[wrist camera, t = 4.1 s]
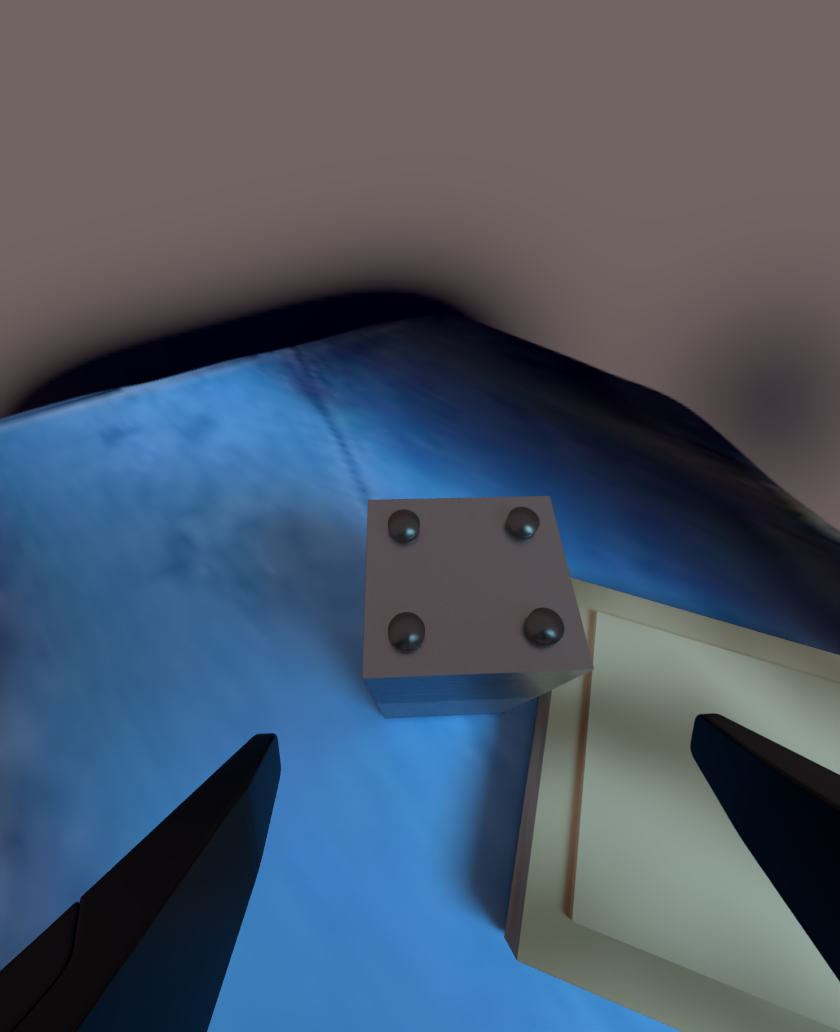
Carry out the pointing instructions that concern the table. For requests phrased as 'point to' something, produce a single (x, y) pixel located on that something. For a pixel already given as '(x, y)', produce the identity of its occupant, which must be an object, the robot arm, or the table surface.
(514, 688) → the plate
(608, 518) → the table surface
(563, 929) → the stand
